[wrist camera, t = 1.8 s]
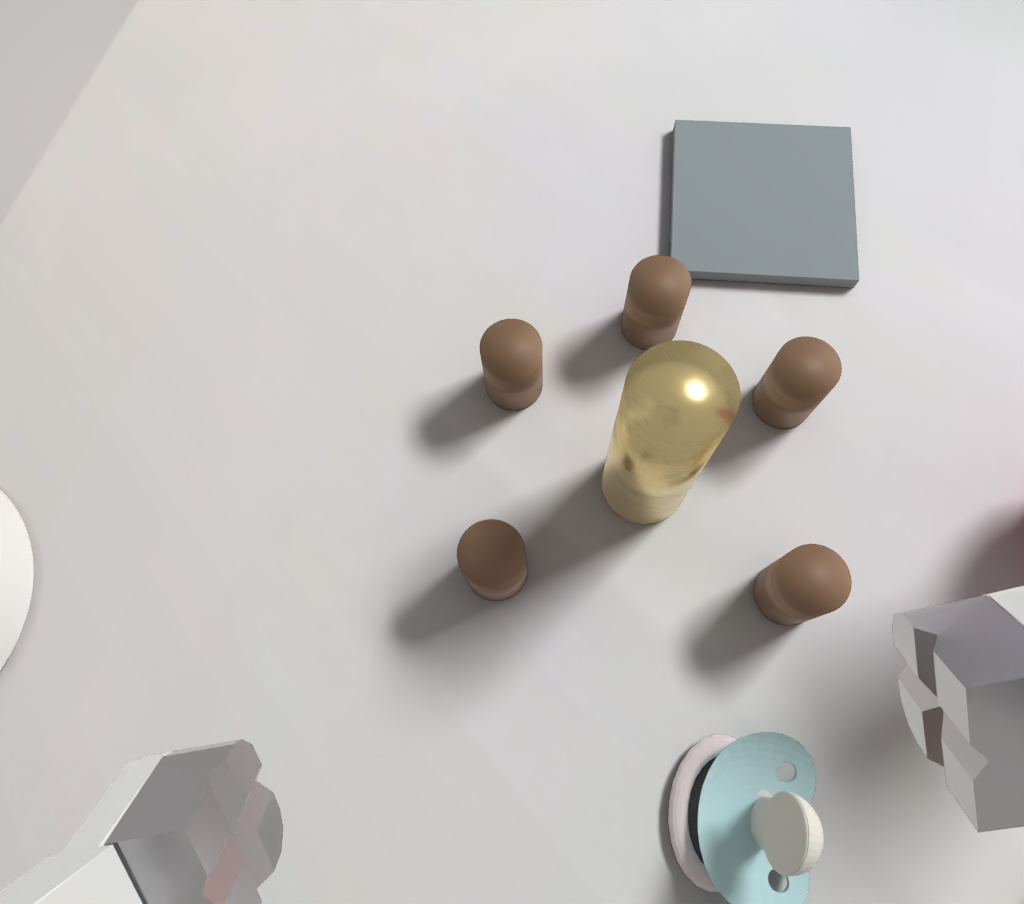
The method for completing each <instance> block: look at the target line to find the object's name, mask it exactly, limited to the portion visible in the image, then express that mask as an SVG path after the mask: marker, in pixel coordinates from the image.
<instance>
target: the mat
mask: <svg viewBox="0 0 1024 904" xmlns="http://www.w3.org/2000/svg"><path fill="white" fill-rule="evenodd" d="M670 257H672V258H675V259H677V260H678V261H680V262H681V263H682V264H683V265H684V266H685V267H686V268H687V270H688V271H689V273H690V276H691V279H707V280H724V281H742V282H760V283H778V284H795V285H813V286H831V287H848V288H854V287H855V285H856V284H857V282H858V281H859V269H858V251H857V233H856V215H855V197H854V179H853V161H852V143H851V128H850V127H827V126H804V125H782V124H759V123H736V122H713V121H690V120H675V124H674V129H673V157H672V191H671V225H670Z"/></svg>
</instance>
